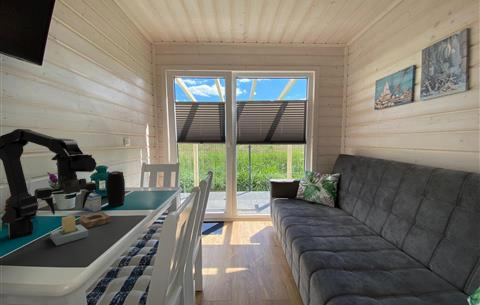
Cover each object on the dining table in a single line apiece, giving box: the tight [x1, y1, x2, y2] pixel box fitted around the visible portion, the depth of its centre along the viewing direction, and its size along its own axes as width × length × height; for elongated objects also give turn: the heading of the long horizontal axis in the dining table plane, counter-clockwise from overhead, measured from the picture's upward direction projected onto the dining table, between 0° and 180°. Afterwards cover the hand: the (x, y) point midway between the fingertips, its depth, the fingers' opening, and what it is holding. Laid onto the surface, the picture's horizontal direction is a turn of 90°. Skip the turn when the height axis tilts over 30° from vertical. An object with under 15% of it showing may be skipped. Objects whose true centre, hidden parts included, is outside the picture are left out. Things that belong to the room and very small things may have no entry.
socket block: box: [49, 223, 89, 246], centre depth 88 cm, size 10×10×2 cm
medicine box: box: [84, 192, 102, 213], centre depth 122 cm, size 8×4×9 cm, turn 62°
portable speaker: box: [106, 170, 126, 208], centre depth 131 cm, size 9×9×20 cm
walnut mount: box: [78, 212, 112, 229], centre depth 104 cm, size 10×10×2 cm
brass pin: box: [61, 215, 77, 235], centre depth 88 cm, size 4×4×8 cm
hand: (68, 211), depth 88 cm, fingers open, 9 cm apart
